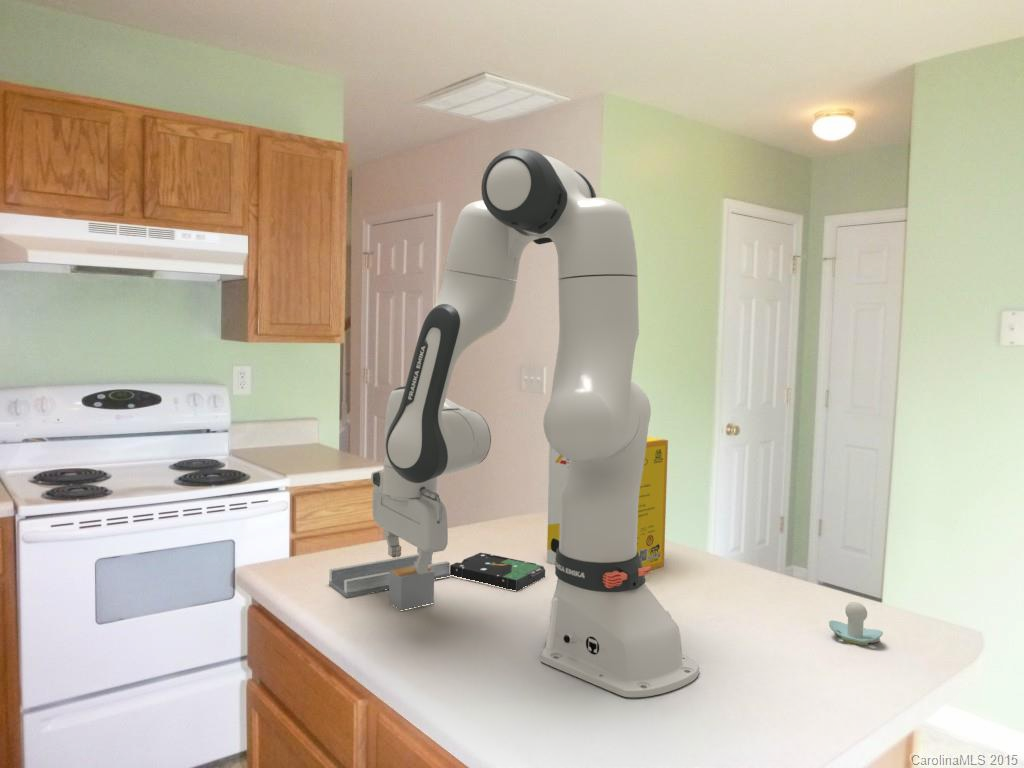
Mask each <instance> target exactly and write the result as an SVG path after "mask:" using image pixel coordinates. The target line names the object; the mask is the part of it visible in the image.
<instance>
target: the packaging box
mask: <svg viewBox="0 0 1024 768" xmlns="http://www.w3.org/2000/svg"><path fill="white" fill-rule="evenodd" d="M548 444H549V443H548ZM668 445H669V440H668V439H666V438H658V437H653V436H647V444H646V452H645V460H644V466H643V473H642V479H641V484H640V491H639V501H638V526H637V552H638V553H639V556H640V559H641V563H642V567H647V566H651V568H650V569H649V570H647V571H645V572H644V573H647V572H650V571H652V570H653V571H654V570H655V569H658V568H662V567H664V566H665V545H666V543H665V542H666V536H665V535H666V517H667V516H666V515H667V513H666V509H667V485H668V482H667V481H668V454H669V453H668V450H669V449H668V448H669V447H668ZM548 453H549V455H548V491H547V492H548V496H547V497H548V498H547V500H548V501H547V538H546V539H547V544H546V545H547V546H546V548H547V549H546V553H547V554H546V563H548V564H550V563H551V564H550V565H553V564H554V566H555V558H556V550H557V549H558V548H559V530H560V497H561V492H562V489H563V487H564V484H565V481H566V477H567V473H568V468H569V463H570V459H568V458H565V457H563V456H562V455H560V454H559V453H557V452H556V451H555V450H554V449H553V448H552V446H551V445H550V444H549V451H548Z"/></svg>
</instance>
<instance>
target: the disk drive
mask: <svg viewBox="0 0 1024 768" xmlns="http://www.w3.org/2000/svg"><path fill="white" fill-rule="evenodd" d="M449 573H450V575H454V576H457V577H462V578H466V579H470V580H475V581H479V582H483V583H488V584H491V585H495V586H499V587H503V588H506V589H512V590H516V591H518V590H520V589H522V588H523V587H525V586H527V587H529V586H531V585H533V584H534V583H533V582H535V581H537V580H538V581H540V580H542V579H544V578H545V577H546V568H545V566H544V565H541V564H537V563H535V562H534V563H533V562H529V561H525V560H521V559H514V558H511V557H505V556H499V555H497V554H490V553H487V552H478V553H477V554H476V553H475V554H474V555H472V556H469V557H466V558H464V559H463V560H462V562H458V561H457V562H455V563H453V564H450V569H449ZM543 577H544V578H543ZM541 578H542V579H541ZM539 579H540V580H539ZM538 581H537V582H538ZM532 583H533V584H532ZM535 583H536V582H535ZM530 584H531V585H530ZM528 585H529V586H528ZM525 588H526V587H525ZM522 590H523V589H522ZM520 591H521V590H520ZM518 592H519V591H518Z"/></svg>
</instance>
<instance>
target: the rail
mask: <svg viewBox="0 0 1024 768" xmlns="http://www.w3.org/2000/svg"><path fill="white" fill-rule="evenodd" d="M418 556H419V554H418V553H416V554H411V555H405V556H400V557H395V558H393V557H391V558H388V559H382V560H376V561H375V560H374V561H372V562H365V563H358V564H353V565H347V566H342V567H335V568H331V569H329V570H328V571H329V578H328V579H329V580H328V585H329V586H330V587H331V588H332V589H334V590H336V591H337V592H338V593H339V594H341V595H342V596H343V597H345V598H346V599H349V598H350V599H351V598H354V597H355V598H356V597H359V595H360V596H365V595H369V594H368V593H370V594H373V593H372V592H375V593H378V592H377V591H380V592H382V591H381V590H385V589H389V571H390V570H394V569H399V568H404V567H410V566H414V561H417V559H418ZM432 557H433V555H432V556H431V559H430V561H429V562H428V566H429V567H431V570H432V571H434V579H436V578H441V577H447V576H450V565H451V564H450V563H451V562H450V561H447V560H445V561H441V562H434V563H432V562H433V559H432ZM385 591H386V590H385ZM364 594H365V595H364Z"/></svg>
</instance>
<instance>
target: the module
mask: <svg viewBox="0 0 1024 768" xmlns="http://www.w3.org/2000/svg"><path fill="white" fill-rule="evenodd" d="M388 593H389V594H388V597H389V598H388V601H389V602H390V603H391V604H392V605H394V606H395V607H397V608H398V609H399V610H398V609H397V608H396V609H397V610H398V611H400V610H405V609H409V608H414V607H418V606H422V605H426V604H431V603H434V604H435V602H434V601H435V581H434V571H432V570H431V567H429V566H428V572H427V573H425V574H419V573H417V572H416V571H414V566H410V567H404V568H399V569H394V570H390V571H389V590H388ZM390 603H389V604H390ZM391 604H390V605H391ZM392 605H391V606H392ZM394 606H393V607H394ZM395 607H394V608H395Z"/></svg>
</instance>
